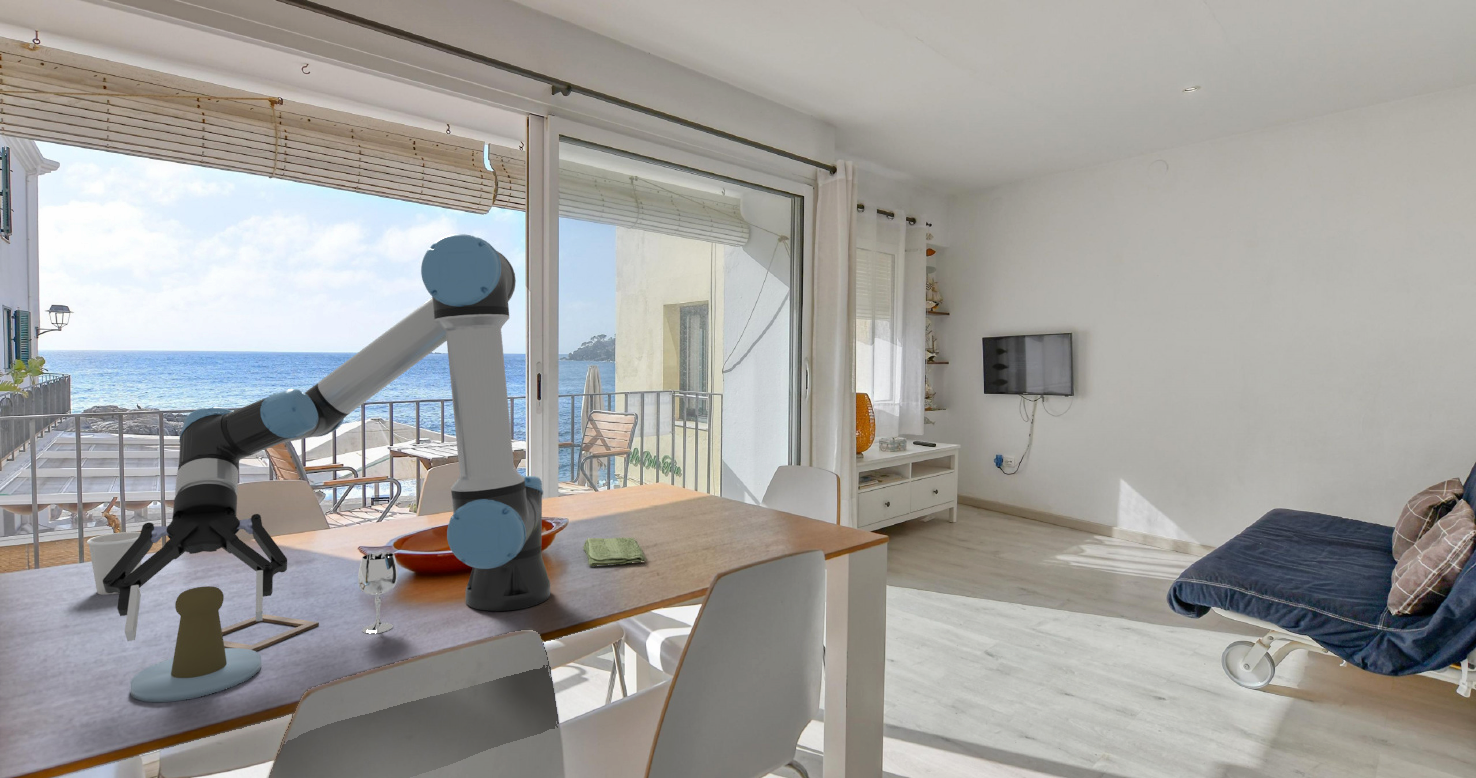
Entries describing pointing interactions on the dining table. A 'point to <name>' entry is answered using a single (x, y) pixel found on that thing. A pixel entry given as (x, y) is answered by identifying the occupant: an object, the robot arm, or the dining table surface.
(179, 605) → the cork
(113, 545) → the dixie cup
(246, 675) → the saucer
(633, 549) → the washcloth
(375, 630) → the wineglass
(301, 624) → the walnut frame
